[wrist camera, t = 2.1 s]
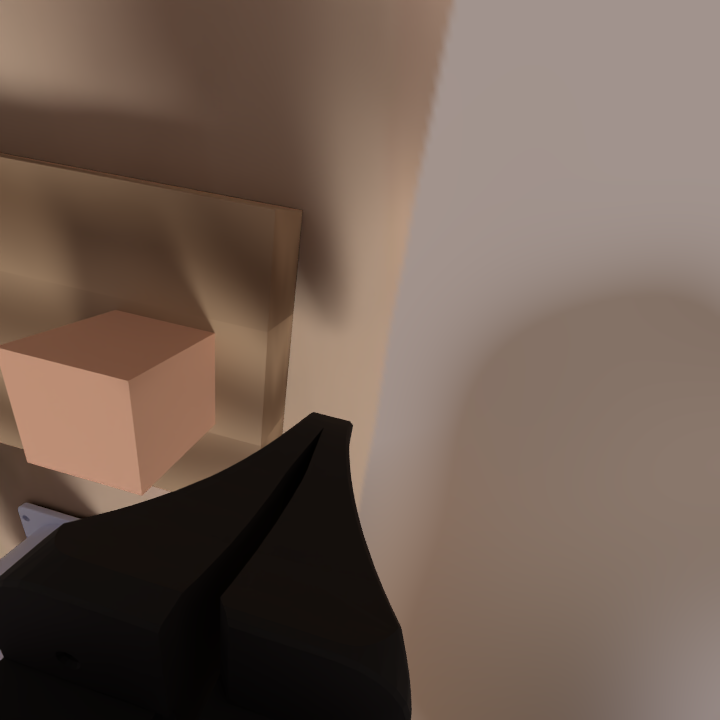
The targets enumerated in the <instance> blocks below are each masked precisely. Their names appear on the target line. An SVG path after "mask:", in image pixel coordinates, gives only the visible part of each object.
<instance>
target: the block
mask: <svg viewBox="0 0 720 720" xmlns="http://www.w3.org/2000/svg"><path fill="white" fill-rule="evenodd" d="M0 368H1V372H2V375H3V379H4V382H5V386H6V389H7V393H8V396H9V400H10V403H11V407H12V410H13V414H14V417H15V421H16V424H17V428H18V431H19V435H20V438H21V442H22V445H23V449H24V452H25V455H26V459H27V462H28V463H31V464H35V465H38V466H42V467H45V468H49V469H52V470H56V471H59V472H62V473H66V474H69V475H73V476H76V477H80V478H83V479H87V480H90V481H93V482H97V483H100V484H104V485H107V486H111V487H114V488H118V489H121V490H124V491H128V492H131V493H135V494H138V495H143V494H144V493H145V492H146V491H147V490H148V489H149V488H150V487H151V486H152V485H153V484H154V483H156V482H157V481H158V480H159V479H160V478H161V477H162V476H163V475H164V474H165V473H166V472H167V471H168V470H169V469H170V468H171V467H172V466H173V465H174V464H175V463H176V462H177V461H178V460H179V459H180V458H181V457H182V456H183V455H184V454H185V453H186V452H187V451H188V450H189V449H190V448H191V447H192V446H193V445H194V444H195V443H196V442H197V441H198V440H199V439H201V438H202V437H203V436H204V435H205V434H206V433H207V432H208V431H209V430H210V429H211V428H212V427H213V426H214V425H215V333H212V332H208V331H204V330H199V329H195V328H191V327H187V326H182V325H178V324H174V323H169V322H165V321H161V320H157V319H152V318H148V317H144V316H140V315H135V314H131V313H127V312H122V311H118V310H114V311H110V312H107V313H104V314H100V315H97V316H94V317H91V318H87V319H84V320H81V321H77V322H74V323H71V324H68V325H64V326H61V327H58V328H55V329H51V330H48V331H45V332H41V333H38V334H35V335H32V336H28V337H25V338H22V339H18V340H15V341H12V342H9V343H5V344H2V345H0Z"/></svg>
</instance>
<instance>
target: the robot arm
mask: <svg viewBox="0 0 720 720" xmlns="http://www.w3.org/2000/svg"><path fill="white" fill-rule="evenodd" d="M352 428H353V425H352V423H351V422H350V421H346V420H342V419H338V418H334V417H330V416H326V415H322V414H319V413H315V412H313V413H311V414H309V415H308V416H307V417H305V418H304V419H303V420H301V421H300V422H299V423H298V424H296V425H295V426H294V427H292V428H291V429H289V430H288V431H287V432H285V433H284V434H282V435H281V436H279V437H278V438H277V439H275V440H274V441H272V442H271V443H269V444H268V445H266V446H265V447H263V448H261V449H260V450H258V451H256V452H255V453H253V454H252V455H250V456H248V457H247V458H245V459H243V460H241V461H240V462H238V463H236V464H234V465H232V466H230V467H228V468H227V469H225V470H222V471H220V472H218V473H216V474H214V475H212V476H210V477H208V478H205V479H203V480H200V481H198V482H196V483H193V484H191V485H188V486H186V487H183V488H181V489H178V490H176V491H173V492H171V493H168V494H165V495H162V496H159V497H156V498H153V499H150V500H147V501H144V502H141V503H138V504H135V505H132V506H128V507H125V508H121V509H118V510H114V511H110V512H106V513H103V514H99V515H95V516H91V517H87V518H83V519H80V518H77V517H73V516H70V515H67V514H63V513H60V512H57V511H53V510H50V509H47V508H44V507H40V506H37V505H34V504H30V503H24V504H22V505H21V506H19V507H18V512H19V515H20V518H21V521H22V525H23V528H24V531H25V534H26V537H27V538H26V539H25V540H24V541H23V542H21V543H20V544H19V545H18V546H16V547H15V548H14V549H13V550H11V551H10V552H9V553H8V554H6V555H5V556H4V557H3V558H1V559H0V720H411V710H412V708H411V689H410V678H409V670H408V663H407V657H406V651H405V645H404V641H403V634H402V629H401V626H400V624H399V622H398V620H397V618H396V616H395V613H394V612H393V609H392V607H391V605H390V603H389V601H388V598H387V596H386V594H385V592H384V589H383V587H382V584H381V582H380V579H379V577H378V575H377V572H376V570H375V567H374V564H373V561H372V558H371V555H370V553H369V550H368V547H367V544H366V541H365V538H364V535H363V531H362V528H361V524H360V520H359V517H358V512H357V508H356V504H355V499H354V493H353V487H352V481H351V472H350V459H349V444H350V438H351V433H352Z"/></svg>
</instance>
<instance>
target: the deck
mask: <svg viewBox="0 0 720 720" xmlns="http://www.w3.org/2000/svg"><path fill="white" fill-rule="evenodd" d="M302 211H303V210H298V209H293V208H288V207H282V206H277V205H272V204H267V203H261V202H256V201H251V200H246V199H240V198H235V197H230V196H225V195H219V194H214V193H209V192H203V191H198V190H193V189H188V188H182V187H177V186H172V185H167V184H161V183H156V182H151V181H146V180H140V179H135V178H130V177H125V176H119V175H114V174H109V173H103V172H98V171H93V170H88V169H82V168H77V167H72V166H67V165H61V164H56V163H51V162H46V161H40V160H35V159H30V158H24V157H19V156H14V155H9V154H3V153H0V345H2V344H5V343H9V342H12V341H15V340H18V339H22V338H25V337H28V336H32V335H35V334H38V333H41V332H45V331H48V330H51V329H55V328H58V327H61V326H64V325H68V324H71V323H74V322H77V321H81V320H84V319H87V318H91V317H94V316H97V315H100V314H104V313H107V312H110V311H114V310H118V311H122V312H127V313H131V314H135V315H140V316H144V317H148V318H152V319H157V320H161V321H165V322H169V323H174V324H178V325H182V326H187V327H191V328H195V329H199V330H204V331H208V332H212V333H215V425H214V426H213V427H212V428H211V429H210V430H209V431H208V432H207V433H206V434H205V435H204V436H203V437H202V438H201V439H199V440H198V441H197V442H196V443H195V444H194V445H193V446H192V447H191V448H190V449H189V450H188V451H187V452H186V453H185V454H184V455H183V456H182V457H181V458H180V459H179V460H178V461H177V462H176V463H175V464H174V465H173V466H172V467H171V468H170V469H169V470H168V471H167V472H166V473H165V474H164V475H163V476H162V477H161V478H160V479H159V480H158V481H157V482H156V483H154V484H153V485H152V486H153V487H157V488H160V489H164V490H167V491H171V492H173V491H176V490H178V489H181V488H183V487H186V486H188V485H191V484H193V483H196V482H198V481H200V480H203V479H205V478H208V477H210V476H212V475H214V474H216V473H218V472H220V471H222V470H225V469H227V468H228V467H230V466H232V465H234V464H236V463H238V462H240V461H241V460H243V459H245V458H247V457H248V456H250V455H252V454H253V453H255V452H256V451H258V450H260V449H261V448H263V447H265V446H266V445H268V444H269V443H271V442H272V441H274V440H275V439H277V438H278V437H279V436H281V435H282V430H283V419H284V408H285V397H286V386H287V375H288V364H289V354H290V343H291V332H292V321H293V310H294V299H295V288H296V277H297V266H298V255H299V244H300V233H301V222H302ZM0 443H3V444H7V445H10V446H14V447H17V448H21V449H23V445H22V442H21V438H20V435H19V431H18V428H17V424H16V421H15V417H14V414H13V410H12V407H11V403H10V400H9V396H8V393H7V389H6V386H5V382H4V379H3V375H2V372H1V368H0Z"/></svg>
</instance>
